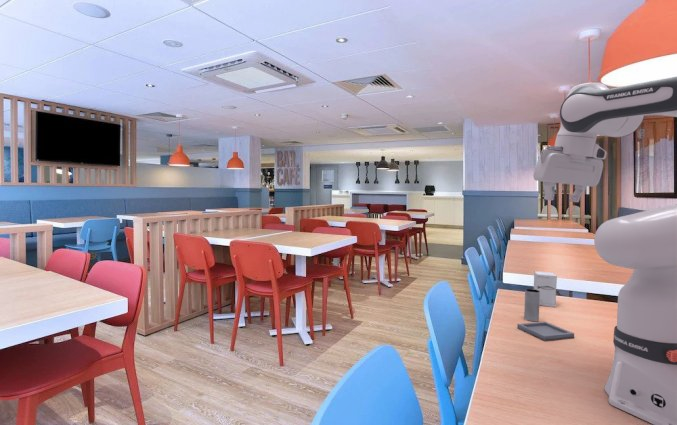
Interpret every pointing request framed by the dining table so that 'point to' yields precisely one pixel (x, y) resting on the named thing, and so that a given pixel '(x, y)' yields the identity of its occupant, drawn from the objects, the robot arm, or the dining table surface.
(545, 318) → the dining table surface
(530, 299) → the grey cylindrical container
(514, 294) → the dining table surface
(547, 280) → the supplement box
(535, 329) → the tray
